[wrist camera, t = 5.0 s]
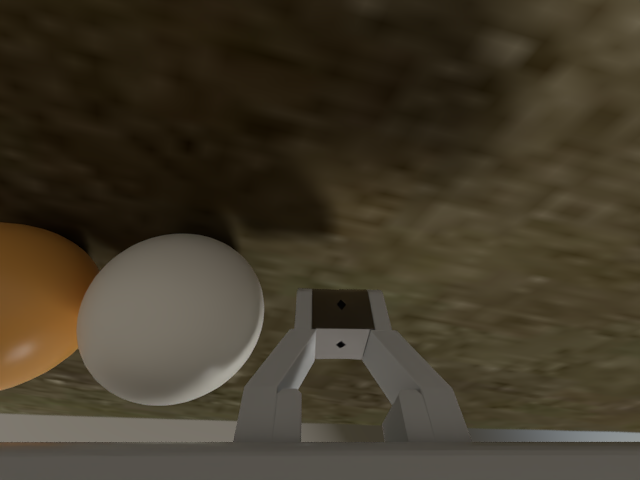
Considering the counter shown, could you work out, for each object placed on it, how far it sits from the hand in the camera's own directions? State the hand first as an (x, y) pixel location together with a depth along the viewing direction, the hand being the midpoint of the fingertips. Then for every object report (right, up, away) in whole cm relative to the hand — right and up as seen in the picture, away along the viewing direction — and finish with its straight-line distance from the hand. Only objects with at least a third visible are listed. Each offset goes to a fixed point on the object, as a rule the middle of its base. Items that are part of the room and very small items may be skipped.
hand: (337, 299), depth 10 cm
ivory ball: (-5, 0, 0) cm, 5 cm away
